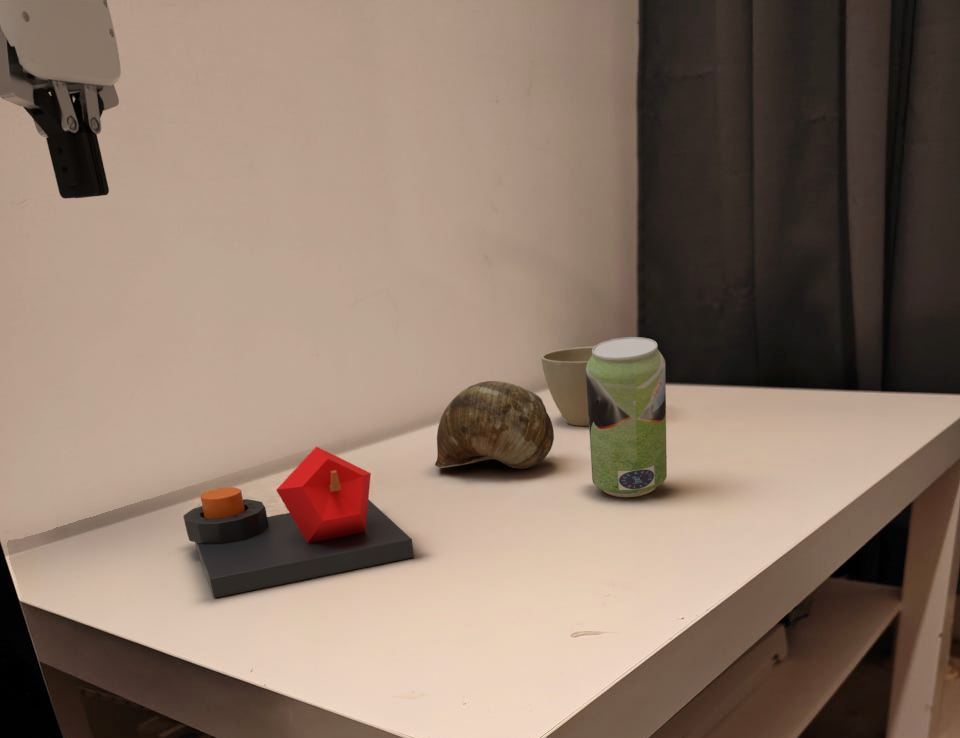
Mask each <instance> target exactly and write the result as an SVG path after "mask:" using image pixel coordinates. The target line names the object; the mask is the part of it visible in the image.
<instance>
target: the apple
mask: <svg viewBox="0 0 960 738" xmlns="http://www.w3.org/2000/svg"><path fill="white" fill-rule="evenodd" d="M371 475H372V473H371V472H369V471H367V470H366V469H363V468H361V467H359V466H358V465H355V464H353V463H351V462H350V461H347V460H345V459H343V458H341V457H339V456H337V455H335V454H332V453H331V452H329V451H327V450H325V449H323V448H320V447H319V446H315V447H314V448H313V449H312V450H311V451H310V453H308V455H307V456H306V457H305V458H304V459H303V460H302V461H301V462H300V463H299V465H297V466H296V468H294V470H293V471H292V472H291V473H290V474H289V475H288V476H287V477H286V478H285V479H284V481H283V482H282V483H281V484H280V485H279V486H278V487H277V488H276V489H275V491H276V492H277V494H278V496H279V497H280V499H281V501H282V502H283V504H284V507H286V510H287V512H288V513H290V514H291V516H292V518H293V519H294V521H295V523H296V525H297V526H298V528H299V530H300V531H301V533H302V535H303V536H304V538H305V540H306V542H307V543H311V542H316V541H321V540H327V539H332V538H337V537H342V536H347V535H352V534H357V533H362V532H365V531H366V520H367V509H368V499H369V498H370V497H369V496H370V488H371V487H370V486H371Z"/></svg>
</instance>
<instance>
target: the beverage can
mask: <svg viewBox="0 0 960 738" xmlns="http://www.w3.org/2000/svg"><path fill="white" fill-rule="evenodd" d="M658 346H659V345H658V343H657V341H655V340H654V339H651V338H647V337H639V336H627V337H626V336H625V337H618V338H612V339H608V340H604V341H601V342H599V343H597V344H595V345H594V348H593V349H592V353H593V354H592V356H591V358H590V360H589V361H588V363H587V366H586V383H587V399H588V416H589V426H588V429H589V445H590V447H589V449H590V464H591V479H592V483H593V484H594V486H595V487H596V488H598V489H600V490H601V491H603V492H604V493H605V494H607V495H609V496H613V497H617V498H635V497H641V496H644V495H647V494H650V493H652V492H653V491H654V490H656V489H657V487H659V486H660V485H662V484H663V483H664V482H665V481H666V479H667V476H668V475H667V474H668V472H667V471H668V467H667V466H668V465H667V462H668V461H667V389H666V388H667V386H666V384H667V382H666V379H667V378H666V377H667V376H666V375H667V374H666V359H665V358H664V356H663V354H662V353H661V351H660V350H659V349H658Z"/></svg>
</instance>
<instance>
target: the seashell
mask: <svg viewBox="0 0 960 738" xmlns="http://www.w3.org/2000/svg"><path fill="white" fill-rule="evenodd" d="M437 427H438V428H437V434H436V448H437V449H436V450H437V454H436V455H437V457H436V461H435V463H434V466H435V467H436V468H440V469H443V468H451V467H459V466H463V465H470V464H473V463H477V462H482V461H488V460H496V461H497V462H498V461H499V462H501V463H502V464H503V465H505V466H507V467H509V468H514V469H518V470H524V469H531V468H532V467H535V466H537V465H538V464H541V462H543V461H544V460H545V459H546V457H547V456H548V455H549V453H550V452H551V450H552V447H553V445H554V439H555V433H554V426H553V422H552V419H551V417H550V415H549V414H548V412H547V408H546V405H545V404H544V401H543V399H542V398H541V396H539V395H538V394H536V393H534V392H533V391H530V390H529V389H526V388H524V387H521V386H519V385H516V384H514V383H510V382H506V381H499V380H487V381H482V382H477V383H476V384H472V385H470V386H468V387H467V388H465V389H463V390H461V391H460V392H459V393H458V394H457V395H456V396H455V397H454V398H453V399H452V400H451V401H450V402H449V403H448V405H447V406H446V408H444V411H443V413H442V414H441V417H440V419H439V423H438V426H437Z"/></svg>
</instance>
